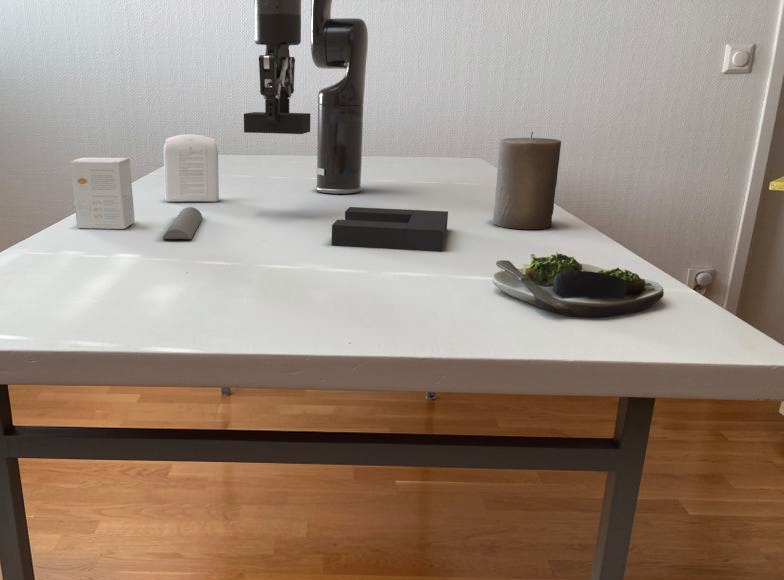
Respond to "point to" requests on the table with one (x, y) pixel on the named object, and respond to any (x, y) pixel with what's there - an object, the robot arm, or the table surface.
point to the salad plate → (576, 287)
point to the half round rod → (184, 224)
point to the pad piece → (286, 125)
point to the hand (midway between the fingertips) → (277, 121)
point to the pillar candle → (526, 182)
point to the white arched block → (191, 169)
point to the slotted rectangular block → (391, 228)
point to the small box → (102, 192)
